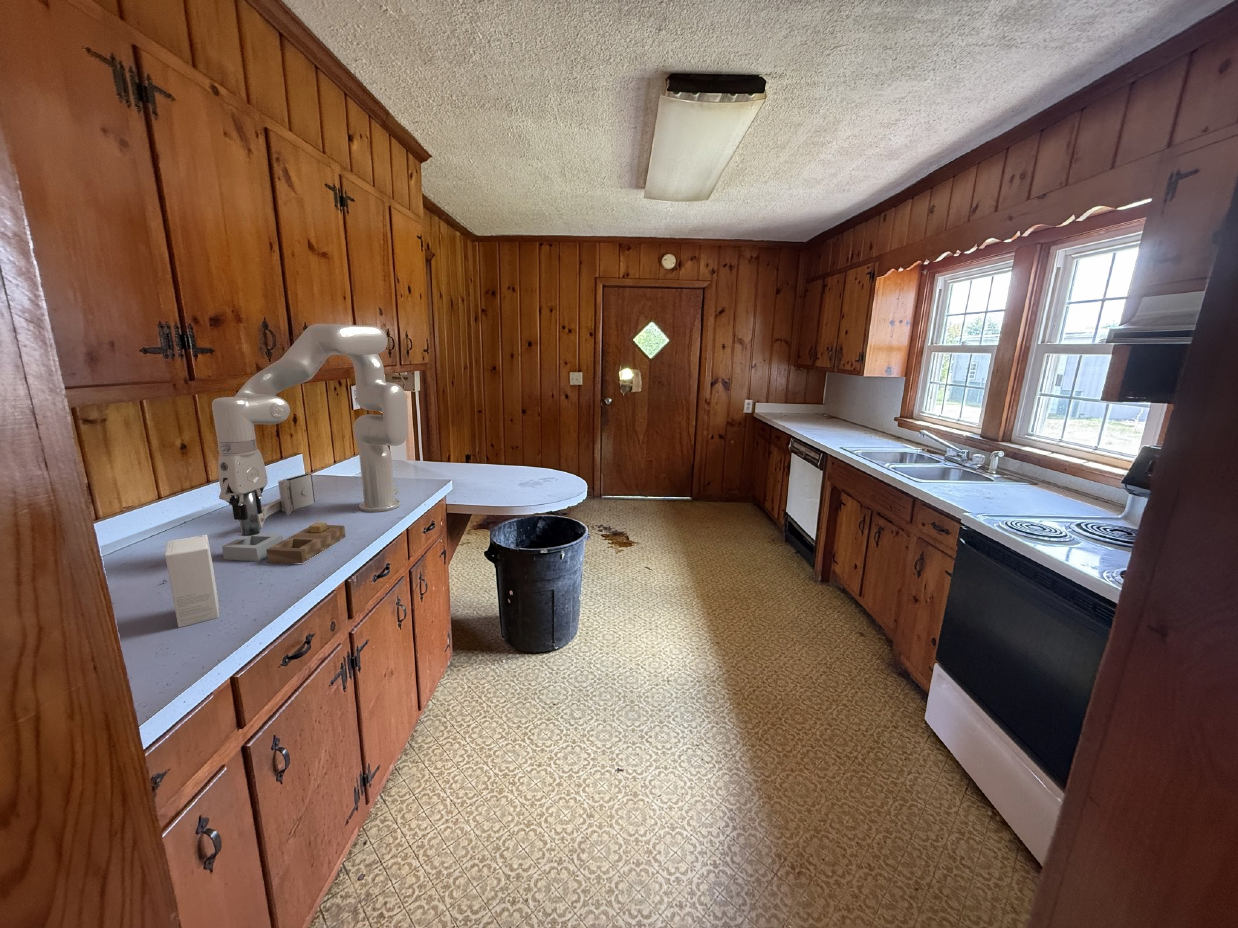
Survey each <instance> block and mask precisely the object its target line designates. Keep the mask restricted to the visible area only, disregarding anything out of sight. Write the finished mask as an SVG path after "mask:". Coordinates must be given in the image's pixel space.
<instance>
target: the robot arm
mask: <svg viewBox="0 0 1238 928" xmlns="http://www.w3.org/2000/svg"><path fill="white" fill-rule="evenodd" d="M387 346H388V336H387V335H386V333H385V332H384V330H383V329H381V327H379V326H375V325H367V324H366V325H363V324H361V325H360V324H342V323H341V324H340V323H339V324H338V323H314V324H311V325H310V326H308V327H307V328H306V329H305V330H303V332H302V333H301V334H300V335H299V337H298V338H296V340H295V341H294V343H293V344H292V345H291V346H290V347H289V348H288V350H287V351H286V352H285V353H284V354H283V356H282V357H280V359H278V360H277V361H274V362H273V363H272V364H269V365H268V366H266V367H265V368H264V369H261V370H260V371H258V372H257V373H256V374H254V375H252V376H251V377H250V378H249V379H248V380H247V381H246V382H245V383H244V384H243V385H242V387H241V388H240V389H239V390H238V392H236V394H235V395H234V396H229V397H228V396H226V397H225V396H224V397H217V398H215V399H213V401H212V402H211V408H212V415H213V420H214V421H213V423H214V427H215V433H216V434H215V435H216V438H217V439H216V441H217V445H218V447H217V451H218V452H219V454H218V461H217V463H218V464H217V465H218V467H217V471H218V474H217V475H218V482H219V488H220V492H219V496H218V499H220V500H222V501H225V502H226V503H227V504H228V505H229V506H231V508H232V515H233V519H234V520H235V521H239V520H247V519H248V516H247V509H246V505H243V497H244V494H246V493H249V492H251V491H255V497H256V504H257V511H258V514H261V513H262V508H263V506H262V502H261V499H262V498H263V494H262V493H263V492H264V490H265V488H266V487H267V485H268V481H269V480H268V473H267V470H266V466H265V461H264V458H263V456H262V453H261V451H260V449H258V447H257V438H256V433H255V432H256V431H255V425H276V424H280V423H282V422H284V421H286V420H287V419H288V417H289V416H290V413H291V407H290V404H289V403H288V401H286V400H285V399H283V398H282V397H280V396H277V395H278V394H279V393H281V392H282V391H284V390H286V389H288V388H291V387H292V388H293V387H294V386H297V385H301V384H305V382H308V381H311V379H313V378H314V376H315V375H316V374H317V373H318V372H319V370H320V368H321V367H322V366H323V365H324V364H325V363H326V361H327V359H328V358H329V357H330V356H332V355H335V356H337V355H339V356H347V357H348V358H349V359H350V362H352V365H353V368H354V376H355V377H354V378H355V379H354V380H355V393H356V395H355V396H356V401H357V404H358V406H359V407H360V408H361V409H363V410H365V411H372V412H382V415H381V414H363V415H361V416H359V417H358V418H356V420H355V421H354V423H353V429H352V430H353V435H354V440H355V442H356V446H357V449H358V455H359V464H360V465H359V466H360V476H361V485H362V495H363V501H362V502H360V504H359V505H358V508H359V510H360V511H362V512H367V513H377V512H378V513H379V512H380V513H381V512H386V511H390V510H394V509H397V508H398V507H400V505H401V500H400V499H398V498H396V495H397V494H400V490H399V489H398V488H397V487H395V484H394V472H393V460H392V459H393V458H392V453H391V450H390V448H389V446H390V447H392V446H393V447H394V446H395V447H396V446H401V445H402V444H403V443H404V442H406V440H407V438H408V434H409V412H408V410H409V409H408V397H407V394H406V391H405V389H404V388H403V387H401V385H399V384H397V383H395V382H389V381H386V377H385V367H384V364H383V361H382V359H381V357H380V355H379V354H382V353H383V352H384V351H385V350H386V348H387ZM235 496H238V499H236V497H235Z"/></svg>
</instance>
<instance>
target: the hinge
mask: <svg viewBox="0 0 1238 928" xmlns="http://www.w3.org/2000/svg"><path fill="white" fill-rule="evenodd" d="M277 482H278V483H277V484H278V489H279V490H278V491H279V499H280V498H281V506H282V509H281V511H282V512H285V515H286V516H288V515H289V516H290V514H291V513H292V512H293V511H294V510H297V509H300V508H303V507H306V506H309V505H312V504H314V503H315V502H316V500H315V499H316V498H315V493H314V482H313V476H312V473H311V474H309V473H302V474H298V475H294V476H291V477H287V478H284V479H282V480H278V481H277Z"/></svg>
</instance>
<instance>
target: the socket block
mask: <svg viewBox="0 0 1238 928" xmlns="http://www.w3.org/2000/svg"><path fill="white" fill-rule="evenodd" d="M327 529H328V530H326V531H325V532H323V533H321V534H320V533H310V529H309V526H308V527H306V528H305V529H303V530H302V529H301V530H300V531H298V532H297V533H295V534H293V535H290V536H289V537H287V538H285V539H283V541H281V542H280V543H278V544H276V545H274V546H272V547H270V548H268V549H266V551H267V556H266V557H267V563H271V564H272V563H273V564H289V563H304V562H305V561H307V560H309V559H310V558H312V557H313V558H315V557H316V556H318V555H319V553H320V552H321V553H323V552H325V551H326V550H327V549H329V548H330V546H331V547H332V546H333V545H335V544H336V543H338V542H340V541H341V539H342V540H343V539H345V538H346V531H345V530H346V528H345V525H336V524H327ZM344 537H345V538H344ZM325 549H326V550H325ZM322 551H323V552H322ZM321 553H320V554H321ZM317 554H318V555H317ZM315 555H316V556H315ZM314 556H315V557H314ZM313 558H312V559H313ZM310 560H311V559H310ZM310 560H309V561H310ZM307 562H308V561H307ZM305 563H306V562H305ZM305 563H304V564H305Z"/></svg>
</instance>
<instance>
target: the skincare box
mask: <svg viewBox="0 0 1238 928" xmlns="http://www.w3.org/2000/svg"><path fill="white" fill-rule="evenodd" d="M209 541H210V540H209V538H208V535H207V534H203V535H196V536H191V537H185V538H184V537H183V538H179V539H178V538H177V539H172V540H167V542H166V547H165V552H164V557H165V562H166V566H167V567H166V568H167V573H168V578H169V583H170V589H171V594H172V600H173V605H174V612H175V616H176V622H177V626H178V628H184V627H188V626H191V625H195V624H199V623H203V622H208V621H210V620H211V621H212V620H216V619H219V617H220V611H219V610H220V609H219V608H220V607H219V605H220V604H219V597H218V591H217V590H218V589H217V583H216V576H215V570H214V565H213V564H214V563H213V560H212V551H211V549H210V547H211V546H210V542H209Z"/></svg>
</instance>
